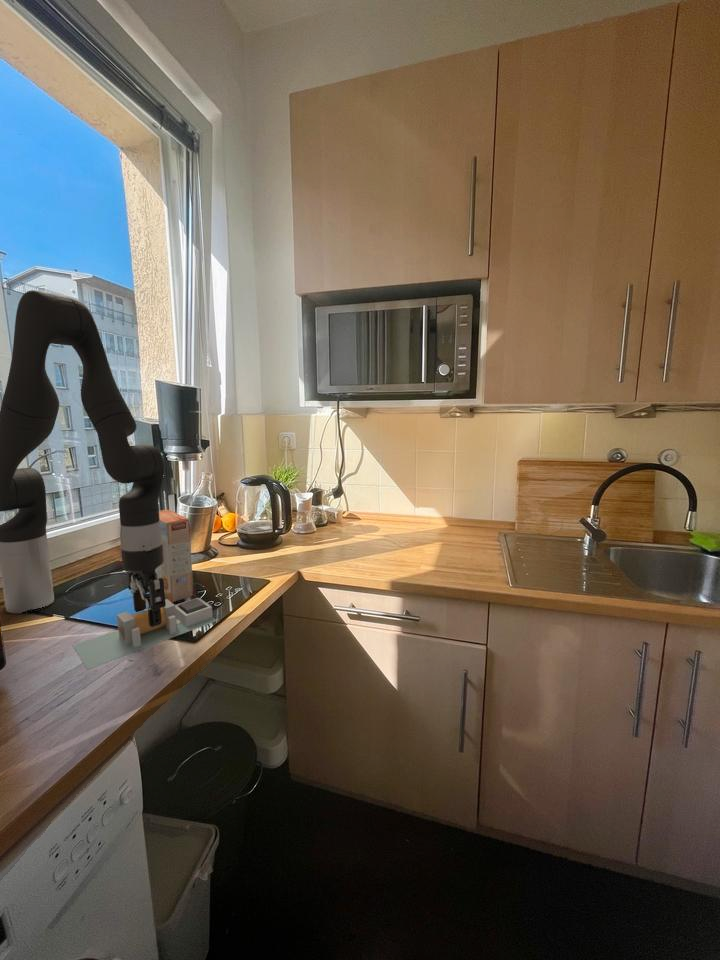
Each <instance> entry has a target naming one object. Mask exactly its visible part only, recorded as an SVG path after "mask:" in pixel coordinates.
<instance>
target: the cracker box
mask: <svg viewBox="0 0 720 960" xmlns="http://www.w3.org/2000/svg"><path fill="white" fill-rule="evenodd" d="M159 519H160V525H161V530H162V543H163V557H164V562H163V564H162V565H160V566H159V567H157V568H156V569H155V572H156V574H157V575H158V578H163V580H164V592H165V599H168V600H169V601H170V602H172V603H174V602H177V601H180V600H181V601H182V600H184V599H188V598H191V597H193V596H194V584H193V582H194V581H193V564H192V542H191V525H190V523H191V522H190V521H191V520H190V519H189V518H187V517H186V516H183V515H180V514H179V513H176V512H174V511H172V510H170V509H162V510H159Z"/></svg>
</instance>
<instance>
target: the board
mask: <svg viewBox="0 0 720 960" xmlns="http://www.w3.org/2000/svg"><path fill="white" fill-rule="evenodd" d="M194 599H198V600H200V601H201V602H202V603H204V604H205V608H203V609H201V610H198V611H195V612H192V613H189V614H186V613H185V612H184V611H183V610H181V609H180V604H182V603H185V602H188V601H191V600H194ZM174 605H175V609H176V618H175V616H174V615H172V616H169V617H168V629H169V630H167V629H165V628H164V627H161V628H158V629H155V630H152V631H150V632H147V633H144V634H141V635H140V629H139V628H138V627H137V628H134V629H131V630H132V642H133V643H132V644H129V645H127V646H126V645H125V643H124V642H123V641H122V640H121V639H120V638H119V631H118V629H117V630H114V631H111V632H108V633H105V634H102V635H99V636H96V637H92V638H90V639H88V640H84V641H81V642H78V643H75V644H72V648H73V649H74V651H75V652H76V655H77V656H78V657H79V659H80V661H81V662H82V664H83V665H84V667H85V668H86V670H90V669H93V668H95V667H98V666H101V665H103V664H107V663H109V662H111V661H115V660H116V659H120V658H123V657H125V656H127V655H130V654H132V653H133V654H134V653H135V652H139V651H140V650H144V649H146V648H149V647H152V646H154V645H156V644H159V643H162V642H164V641H167V640H169V639H173V638H174V637H178V636H180V635H183V634H185V633H188V632H191V631H194V630H196V629H199V628H201V627H204V626H207V625H209V624H211V623H212V624H213V623H215V622H217V621H218V620H217V619H216V618H214V616H213V607H212V605H210V604H209V603H207V602H206V601H204V600H203V599H202V598H200V597H196V598H192V599H190V600H186V601H183V602H181V603H177V604H174ZM176 621H177V627H176Z"/></svg>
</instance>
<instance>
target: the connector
mask: <svg viewBox="0 0 720 960" xmlns="http://www.w3.org/2000/svg"><path fill="white" fill-rule="evenodd" d="M193 599H194V600H192V599H190V600H191V601H189V600H187V601H188V602H186V601H184V602H185V603H183V602H181V603H182V604H180V603H179V604H180V609H181V610H183V611H184V612H185V613H186V614H189V613H192V612H195V611H198V610H201V609H203V608H205V604H204V603H202V602H201V601H200V600H198V599H195V598H193Z"/></svg>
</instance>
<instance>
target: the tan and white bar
mask: <svg viewBox="0 0 720 960" xmlns="http://www.w3.org/2000/svg"><path fill="white" fill-rule="evenodd" d="M165 603H166V606H165V607H162V608H161V621H162V622H161V624H159V625H157V626H154V627H151V626H150V625H149V619H148V609H145V610H143V611H139V612H135V613H134V614H131V613H130V612H129V611H124V612H120V613H118V614H116V619H117V621H116V622H117V630H118V631H119V638H120V639H121V640H122V641H123V642H124V643H125V645H126V646H127V645H129V644H132V643H133V642H132V630H131V629H134V628H137V627H138V628H139V629H140V635H141V634H144V633H147V632H150V631H152V630H155V629H158V628H161V627H164V628H165V629H167V630H169V629H168V617H169V616H172V615H174V616H175V618H176V609H175V605H176V604H174V602H170V601H169V600H168V599H167V598H165ZM176 627H177V621H176Z"/></svg>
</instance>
